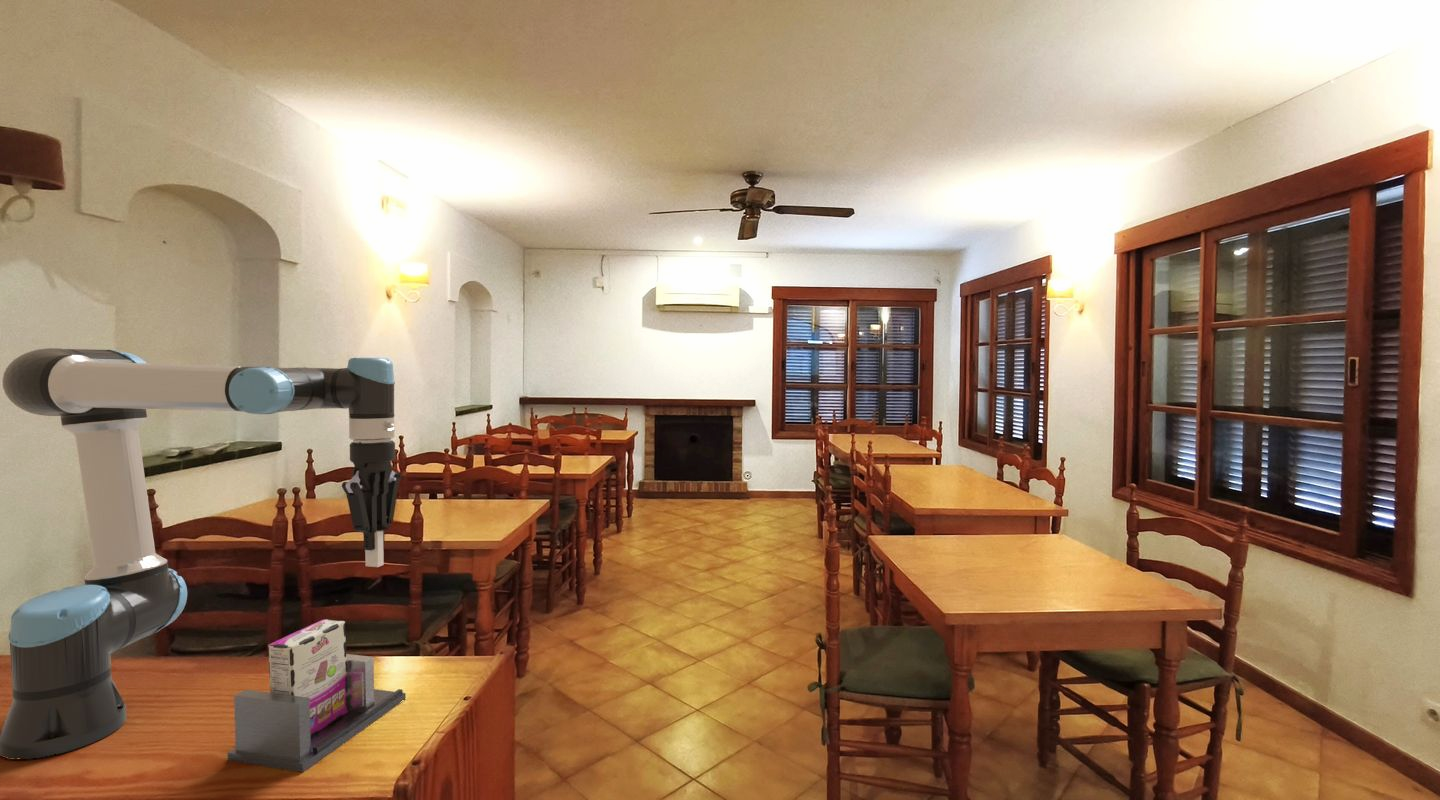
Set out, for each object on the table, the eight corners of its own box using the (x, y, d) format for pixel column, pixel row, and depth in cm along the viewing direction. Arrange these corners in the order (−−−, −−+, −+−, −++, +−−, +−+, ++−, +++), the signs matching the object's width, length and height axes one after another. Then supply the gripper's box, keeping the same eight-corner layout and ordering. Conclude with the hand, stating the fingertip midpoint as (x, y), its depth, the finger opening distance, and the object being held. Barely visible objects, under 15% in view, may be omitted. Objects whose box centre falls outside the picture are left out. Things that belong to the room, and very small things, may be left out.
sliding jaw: (311, 706, 117) (310, 656, 117) (345, 685, 125) (344, 638, 125) (365, 713, 115) (364, 662, 115) (396, 691, 123) (395, 644, 122)
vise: (227, 760, 104) (225, 696, 103) (341, 691, 126) (340, 638, 126) (303, 772, 101) (301, 706, 100) (405, 699, 123) (404, 645, 123)
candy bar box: (325, 709, 117) (323, 617, 116) (349, 712, 116) (347, 620, 115) (268, 744, 106) (266, 643, 105) (294, 748, 105) (292, 646, 104)
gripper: (364, 444, 116) (366, 577, 117) (413, 437, 129) (415, 557, 130) (327, 443, 118) (330, 574, 119) (380, 436, 131) (381, 554, 132)
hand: (374, 565), depth 124 cm, fingers closed
